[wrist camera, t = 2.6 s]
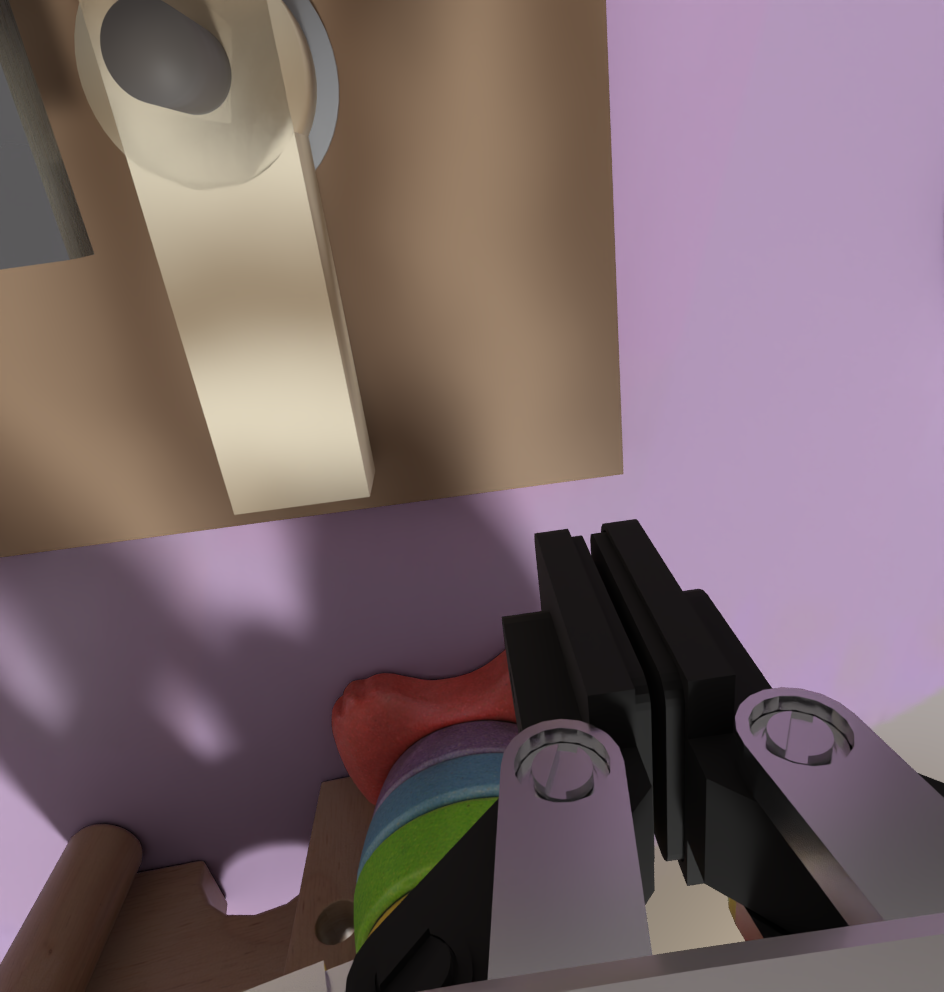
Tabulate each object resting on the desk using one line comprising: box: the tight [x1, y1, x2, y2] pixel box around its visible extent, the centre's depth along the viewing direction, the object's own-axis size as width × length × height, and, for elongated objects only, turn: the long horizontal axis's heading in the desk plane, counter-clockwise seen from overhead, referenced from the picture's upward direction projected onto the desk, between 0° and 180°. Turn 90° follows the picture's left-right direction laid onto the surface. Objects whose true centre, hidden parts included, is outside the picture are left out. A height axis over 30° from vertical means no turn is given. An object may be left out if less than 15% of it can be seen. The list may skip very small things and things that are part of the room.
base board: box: [0, 0, 623, 557], centre depth 20 cm, size 26×18×2 cm
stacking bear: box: [332, 649, 519, 954], centre depth 22 cm, size 11×10×18 cm
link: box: [74, 0, 375, 515], centre depth 17 cm, size 14×5×4 cm, turn 7°
